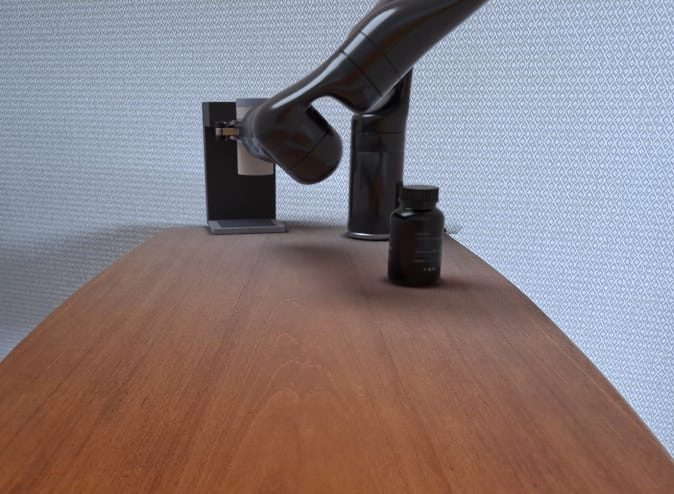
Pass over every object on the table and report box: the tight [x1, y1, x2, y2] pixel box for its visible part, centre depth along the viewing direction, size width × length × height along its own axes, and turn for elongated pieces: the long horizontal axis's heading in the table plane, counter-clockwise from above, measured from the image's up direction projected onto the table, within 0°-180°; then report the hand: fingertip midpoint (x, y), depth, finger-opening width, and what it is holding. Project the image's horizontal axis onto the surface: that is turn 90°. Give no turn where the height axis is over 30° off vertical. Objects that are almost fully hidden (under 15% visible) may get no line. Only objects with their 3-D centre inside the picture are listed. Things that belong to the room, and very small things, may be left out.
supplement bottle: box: [386, 184, 446, 288], centre depth 86 cm, size 7×7×12 cm
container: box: [235, 97, 273, 175], centre depth 104 cm, size 6×6×11 cm
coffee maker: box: [201, 101, 286, 235], centre depth 123 cm, size 13×13×22 cm
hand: (252, 129), depth 106 cm, fingers closed on container, 5 cm apart
